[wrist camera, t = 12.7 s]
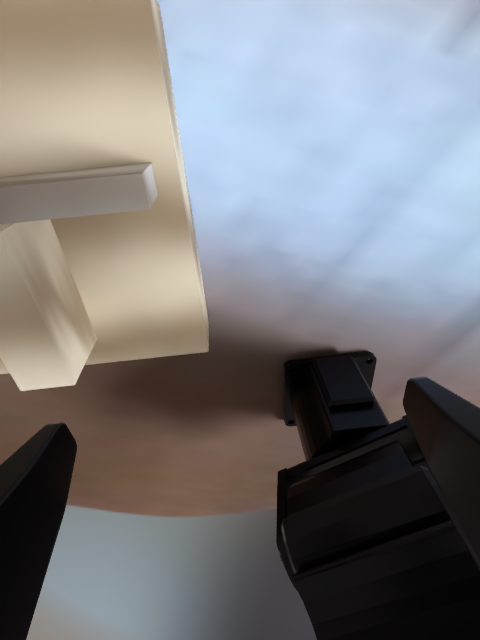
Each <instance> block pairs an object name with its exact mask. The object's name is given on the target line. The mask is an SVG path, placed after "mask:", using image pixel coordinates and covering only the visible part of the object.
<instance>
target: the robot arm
mask: <svg viewBox="0 0 480 640" xmlns="http://www.w3.org/2000/svg"><path fill="white" fill-rule="evenodd" d="M368 359H369V360H368ZM375 366H376V357H375V356H374V354H373V353H371V352H366V353H356V354H347V355H338V356H329V357H320V358H310V359H301V360H292V361H288V362H286V363H285V364H284V421H285V425H287V426H297V428H298V432H299V436H300V440H301V443H302V447H303V451H304V455H305V458H306V461H305V462H302V463H300V464H298V465H296V466H293V467H291V468H289V469H286V468H285V469H283V470H280V471H278V485H277V547H278V550H279V552H280V557H281V561H282V563H283V564H284V566H285V569H286V571H287V574H288V576H289V578H290V580H291V582H292V584H293V585H294V587H295V588H296V590H297V591H298V592H299V594H300V596H301V598H302V600H303V602H304V605H305V607H306V610H307V612H308V615H309V617H310V620H311V622H312V625H313V628H314V631H315V634H316V637H317V640H480V408H479V407H477V406H475V405H474V404H472V403H470V402H469V401H467V400H465V399H463V398H462V397H460V396H458V395H457V394H455V393H453V392H451V391H450V390H448V389H446V388H445V387H443V386H441V385H439V384H438V383H436V382H434V381H432V380H431V379H429V378H427V377H416V378H410V379H409V380H408V381H407V385H406V389H405V394H404V398H403V406H404V410H405V412H406V414H407V415H405V416H403V417H402V418H403V419H400V420H398V421H396V422H394V423H391V424H390V423H389V421H388V420H387V418H386V416H385V414H384V412H383V411H382V409H381V407H380V405H379V403H378V402H377V400H376V398H375V396H374V394H373V392H372V391H371V387H372V381H373V376H374V371H375ZM290 367H293V368H291V369H289V368H290ZM76 452H77V444H76V441H75V439H74V437H73V436H72V434H71V432H70V431H69V429H68V427H67V425H66V424H65V423H63V422H58V423H51V424H47V425H45V426H44V427H43V428H42V429H40V430H39V431H38V432H37V433H36V434H35V435H34V436H33V437H31V438H30V439H29V440H28V441H27V442H26V443H25V444H24V445H23V446H21V447H20V448H19V449H18V450H17V451H16V452H15V453H14V454H13V455H11V456H10V457H9V458H8V459H7V460H6V461H5V462H4V463H2V464H1V465H0V640H26V638H27V635H28V631H29V628H30V624H31V621H32V618H33V614H34V611H35V608H36V605H37V601H38V598H39V595H40V591H41V588H42V585H43V582H44V578H45V575H46V572H47V568H48V565H49V562H50V558H51V555H52V552H53V548H54V545H55V542H56V538H57V535H58V532H59V529H60V525H61V522H62V519H63V515H64V511H65V507H66V503H67V498H68V493H69V488H70V483H71V478H72V473H73V467H74V462H75V457H76Z"/></svg>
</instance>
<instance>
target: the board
mask: <svg viewBox="0 0 480 640" xmlns="http://www.w3.org/2000/svg"><path fill="white" fill-rule="evenodd" d="M151 162H153V167H154V172H155V177H156V182H157V187H158V191H159V194H158V196H157V198H156V199H155V201H154V203H153V205H152V206H151V208H150V209H147V210H138V211H128V212H118V213H108V214H98V215H88V216H78V217H69V218H59V219H50V220H51V223H52V225H53V228H54V230H55V233H56V235H57V238H58V240H59V243H60V245H61V248H62V251H63V253H64V256H65V258H66V261H67V263H68V266H69V268H70V271H71V273H72V276H73V278H74V281H75V284H76V286H77V289H78V291H79V294H80V296H81V299H82V301H83V304H84V306H85V309H86V311H87V314H88V317H89V319H90V322H91V324H92V327H93V329H94V332H95V334H96V337H97V340H96V342H95V344H94V347H93V349H92V351H91V353H90V355H89V357H88V359H87V361H86V363H85V365H90V364H100V363H109V362H118V361H128V360H137V359H146V358H156V357H165V356H174V355H184V354H193V353H202V352H209V320H208V314H207V307H206V301H205V294H204V288H203V282H202V275H201V269H200V262H199V256H198V250H197V243H196V237H195V230H194V224H193V218H192V211H191V205H190V198H189V192H188V186H187V179H186V173H185V166H184V160H183V154H182V147H181V141H180V134H179V128H178V122H177V115H176V109H175V102H174V96H173V90H172V83H171V77H170V70H169V64H168V58H167V51H166V45H165V38H164V32H163V26H162V19H161V13H160V7H159V5H158V3H157V1H156V0H0V177H10V176H20V175H30V174H40V173H50V172H60V171H70V170H80V169H90V168H101V167H111V166H121V165H131V164H141V163H151ZM6 373H9V371H8V369H7V368H6V366H5V365H4V363H3V361H2V360H1V358H0V374H6Z"/></svg>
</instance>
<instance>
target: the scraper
mask: <svg viewBox="0 0 480 640" xmlns="http://www.w3.org/2000/svg"><path fill="white" fill-rule="evenodd" d="M158 194H159V191H158V187H157V182H156V177H155V172H154V167H153V162H151V163H141V164H131V165H121V166H111V167H101V168H90V169H80V170H70V171H60V172H50V173H40V174H30V175H20V176H10V177H0V358H1V360H2V361H3V363H4V365H5V366H6V368H7V369H8V371H9V373H10V374H11V376H12V378H13V379H14V381H15V382H16V384H17V386H18V387H19V389H20V391H26V390H35V389H44V388H53V387H62V386H72V385H75V384H76V382H77V380H78V378H79V376H80V373H81V371H82V369H83V367H84V365H85V363H86V361H87V359H88V357H89V355H90V353H91V351H92V349H93V347H94V344H95V342H96V340H97V337H96V334H95V332H94V329H93V327H92V324H91V322H90V319H89V317H88V314H87V311H86V309H85V306H84V304H83V301H82V299H81V296H80V294H79V291H78V289H77V286H76V284H75V281H74V278H73V276H72V273H71V271H70V268H69V266H68V263H67V261H66V258H65V256H64V253H63V251H62V248H61V245H60V243H59V240H58V238H57V235H56V233H55V230H54V228H53V225H52V223H51V220H50V219H59V218H69V217H78V216H88V215H98V214H108V213H118V212H128V211H138V210H147V209H150V208H151V206H152V205H153V203H154V201H155V199H156V198H157V196H158Z"/></svg>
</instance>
